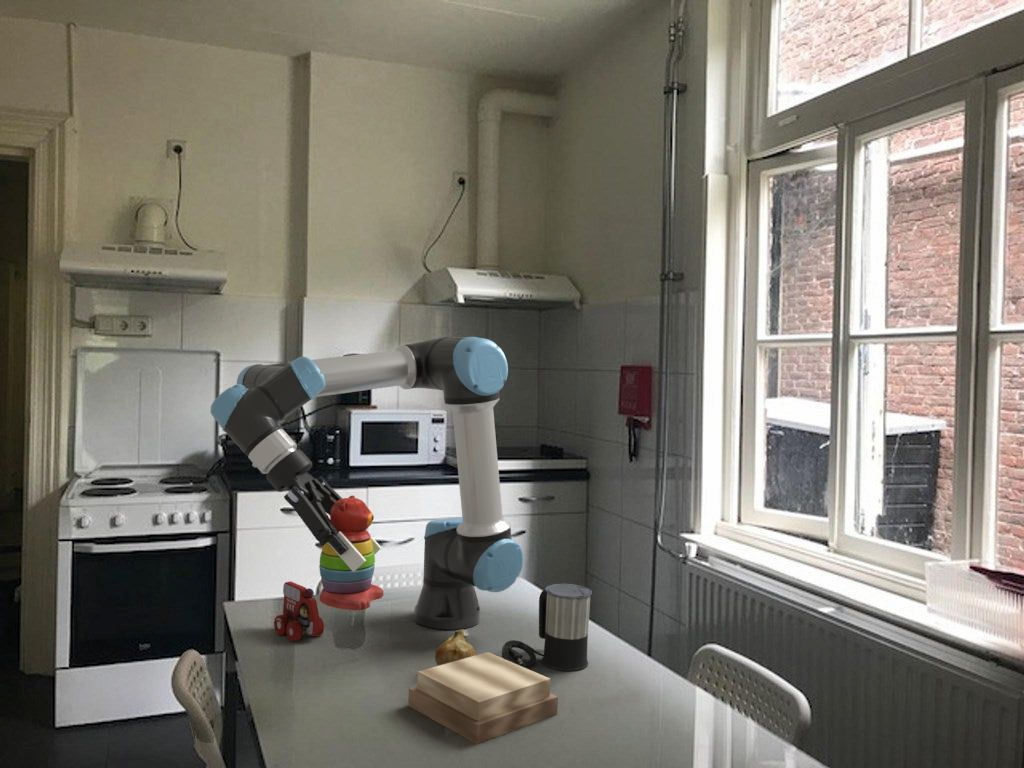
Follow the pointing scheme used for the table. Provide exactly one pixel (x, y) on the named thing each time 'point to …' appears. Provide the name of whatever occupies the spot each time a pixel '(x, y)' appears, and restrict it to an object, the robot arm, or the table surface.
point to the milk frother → (558, 629)
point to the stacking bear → (335, 574)
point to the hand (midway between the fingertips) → (368, 559)
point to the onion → (454, 648)
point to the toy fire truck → (298, 613)
